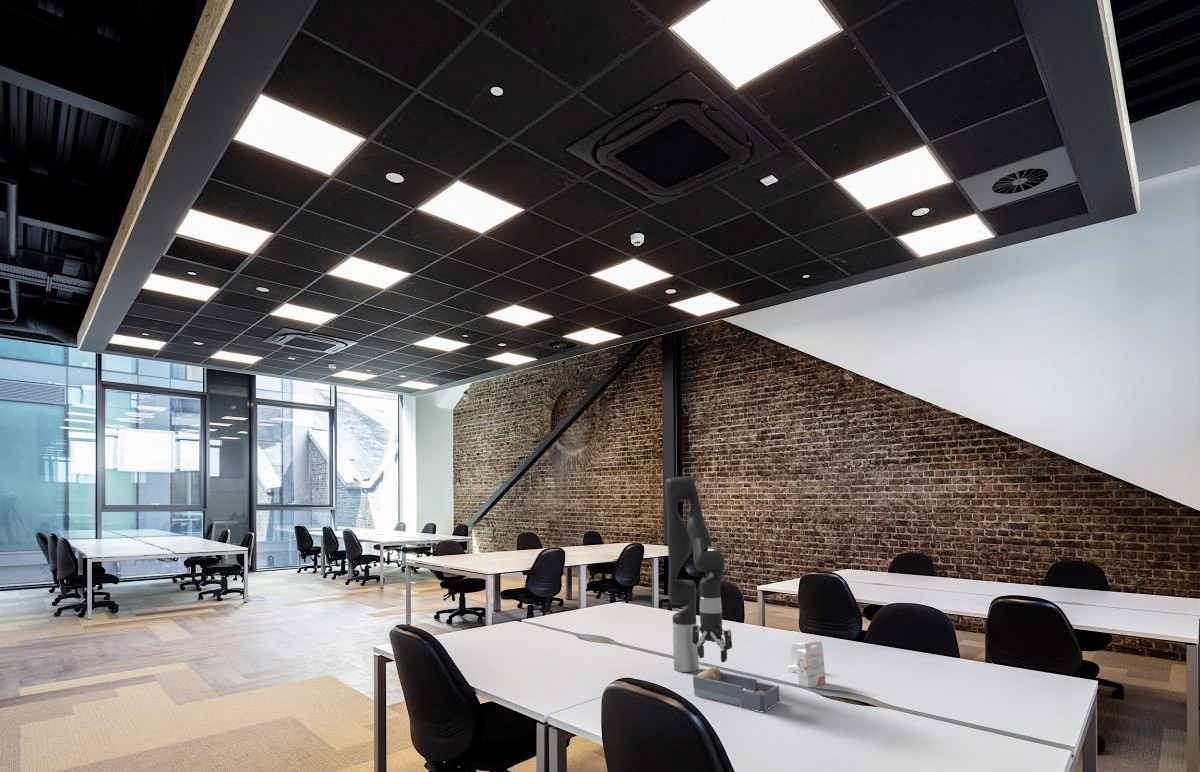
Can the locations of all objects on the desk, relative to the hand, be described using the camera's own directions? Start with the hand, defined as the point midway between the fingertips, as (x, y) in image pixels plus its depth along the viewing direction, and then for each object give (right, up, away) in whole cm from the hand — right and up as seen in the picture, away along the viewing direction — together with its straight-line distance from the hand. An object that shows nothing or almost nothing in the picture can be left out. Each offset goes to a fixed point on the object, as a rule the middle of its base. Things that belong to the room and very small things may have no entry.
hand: (712, 659), depth 215 cm
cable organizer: (+38, -15, +25) cm, 48 cm away
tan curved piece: (-1, -9, 0) cm, 9 cm away
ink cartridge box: (+37, -13, +8) cm, 40 cm away
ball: (+13, -7, -13) cm, 20 cm away
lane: (+6, -10, -7) cm, 14 cm away
